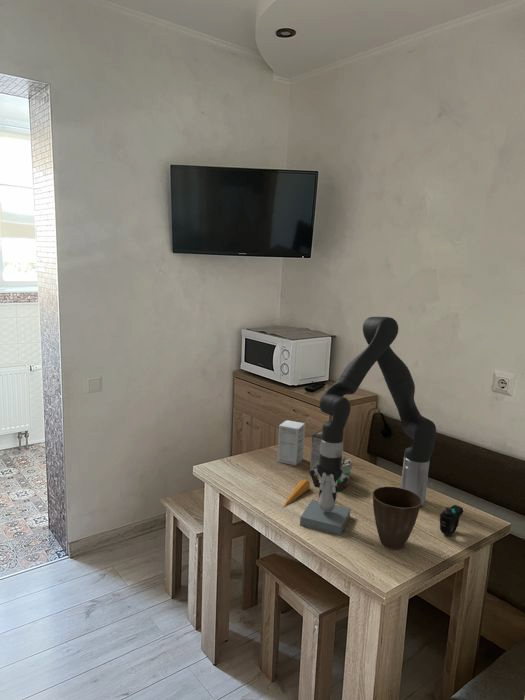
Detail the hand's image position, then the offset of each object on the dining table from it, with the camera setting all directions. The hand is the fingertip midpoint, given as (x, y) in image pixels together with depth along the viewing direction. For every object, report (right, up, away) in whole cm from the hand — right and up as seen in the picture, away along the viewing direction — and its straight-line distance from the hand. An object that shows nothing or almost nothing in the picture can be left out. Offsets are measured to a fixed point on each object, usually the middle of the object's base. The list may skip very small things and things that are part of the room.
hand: (327, 500), depth 174 cm
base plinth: (-1, -7, +1) cm, 8 cm away
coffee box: (+3, 0, +44) cm, 45 cm away
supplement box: (-10, +2, +53) cm, 54 cm away
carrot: (-10, -4, +18) cm, 21 cm away
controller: (+41, -11, -2) cm, 42 cm away
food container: (+10, -3, +29) cm, 31 cm away
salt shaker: (0, -3, +1) cm, 3 cm away
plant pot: (+19, -11, -11) cm, 25 cm away
